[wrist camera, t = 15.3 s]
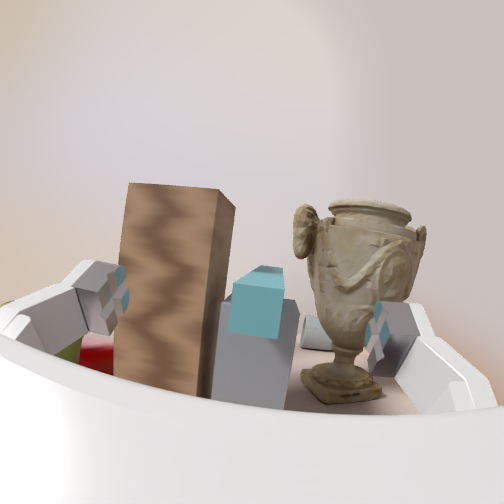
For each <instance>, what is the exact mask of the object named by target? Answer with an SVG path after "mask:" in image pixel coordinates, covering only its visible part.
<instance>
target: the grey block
mask: <svg viewBox="0 0 504 504" xmlns="http://www.w3.org/2000/svg"><path fill="white" fill-rule="evenodd" d="M231 299H232V294H231V295H230V296H228V297H227V298H226V299H225V300H224V301H223V302H222V303H221V310H220V319H219V328H218V337H217V346H216V355H215V365H214V375H213V385H212V395H211V400H217V401H222V402H228V403H235V404H241V405H248V406H255V407H262V408H270V409H279V410H284V404H285V399H286V394H287V388H288V383H289V377H290V371H291V366H292V360H293V354H294V348H295V342H296V335H297V329H298V323H299V316H300V313H299V310H298V307H297V304H296V302H295V300H290V299H283V305H282V312H281V319H280V326H279V333H278V339H272V338H264V337H257V336H250V335H243V334H236V333H230V332H228V324H229V316H230V307H231Z"/></svg>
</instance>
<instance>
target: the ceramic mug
mask: <svg viewBox="0 0 504 504" xmlns="http://www.w3.org/2000/svg"><path fill="white" fill-rule="evenodd" d="M332 342H333V341H332V340H331V339H330V338H329V337H328V335H327V334H326V333H325V331H324V329H323V328H322V326H321V324H320V322H319V318H318V317H314V316H310V315H306V316H305V319H304V323H303V327H302V333H301V339H300V347H301V348H309V349H319V350H333V347H331V344H332Z"/></svg>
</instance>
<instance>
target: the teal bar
mask: <svg viewBox="0 0 504 504" xmlns="http://www.w3.org/2000/svg"><path fill="white" fill-rule="evenodd" d="M284 290H285V289H284V279H283V268H278V267H269V266H259V267H258V268H256V269H254V270H253V271H251V272H250V273H248V274H247V275H245V276H244V277H242V278H240V279H239V280H237V281H236V282H234V283H233V291H232V299H231V307H230V316H229V324H228V332H230V333H236V334H243V335H250V336H257V337H264V338H272V339H278V333H279V326H280V319H281V312H282V305H283V297H284Z"/></svg>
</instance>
